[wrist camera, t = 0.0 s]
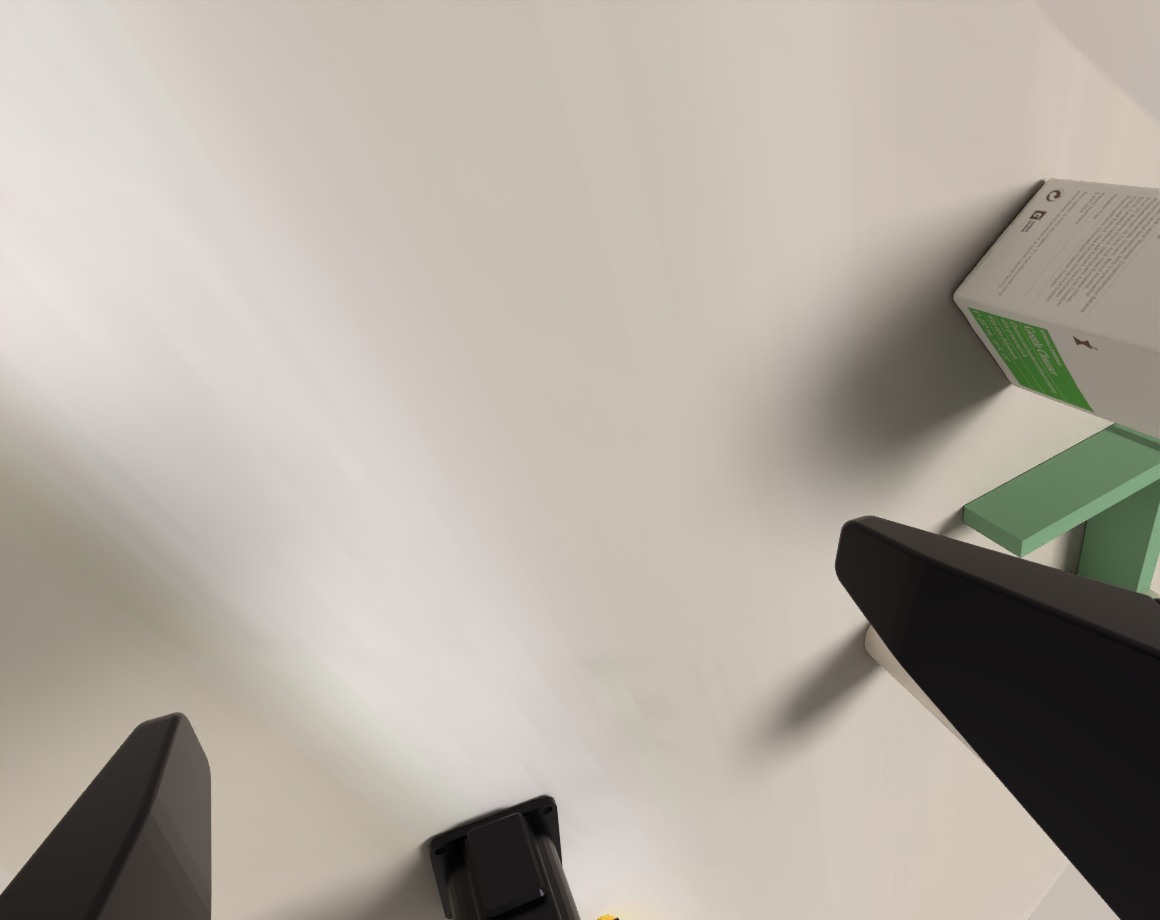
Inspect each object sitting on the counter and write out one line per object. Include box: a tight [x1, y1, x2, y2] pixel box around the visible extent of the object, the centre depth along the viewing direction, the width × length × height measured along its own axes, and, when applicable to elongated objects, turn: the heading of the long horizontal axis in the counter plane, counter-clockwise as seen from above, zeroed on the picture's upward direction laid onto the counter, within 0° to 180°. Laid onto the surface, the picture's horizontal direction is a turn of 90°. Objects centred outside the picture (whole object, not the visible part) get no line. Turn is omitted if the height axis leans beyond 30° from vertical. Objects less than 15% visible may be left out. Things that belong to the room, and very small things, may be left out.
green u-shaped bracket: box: [963, 423, 1160, 599], centre depth 36 cm, size 11×13×10 cm
